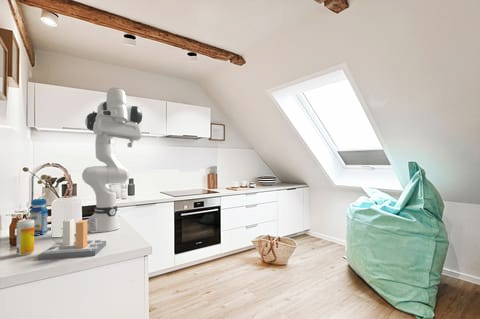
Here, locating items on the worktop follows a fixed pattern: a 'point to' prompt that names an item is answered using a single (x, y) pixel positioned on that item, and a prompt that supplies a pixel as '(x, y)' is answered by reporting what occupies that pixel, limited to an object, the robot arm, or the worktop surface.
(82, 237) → the tan wooden block
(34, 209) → the blue bottle
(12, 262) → the worktop surface
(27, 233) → the yellow cylinder
